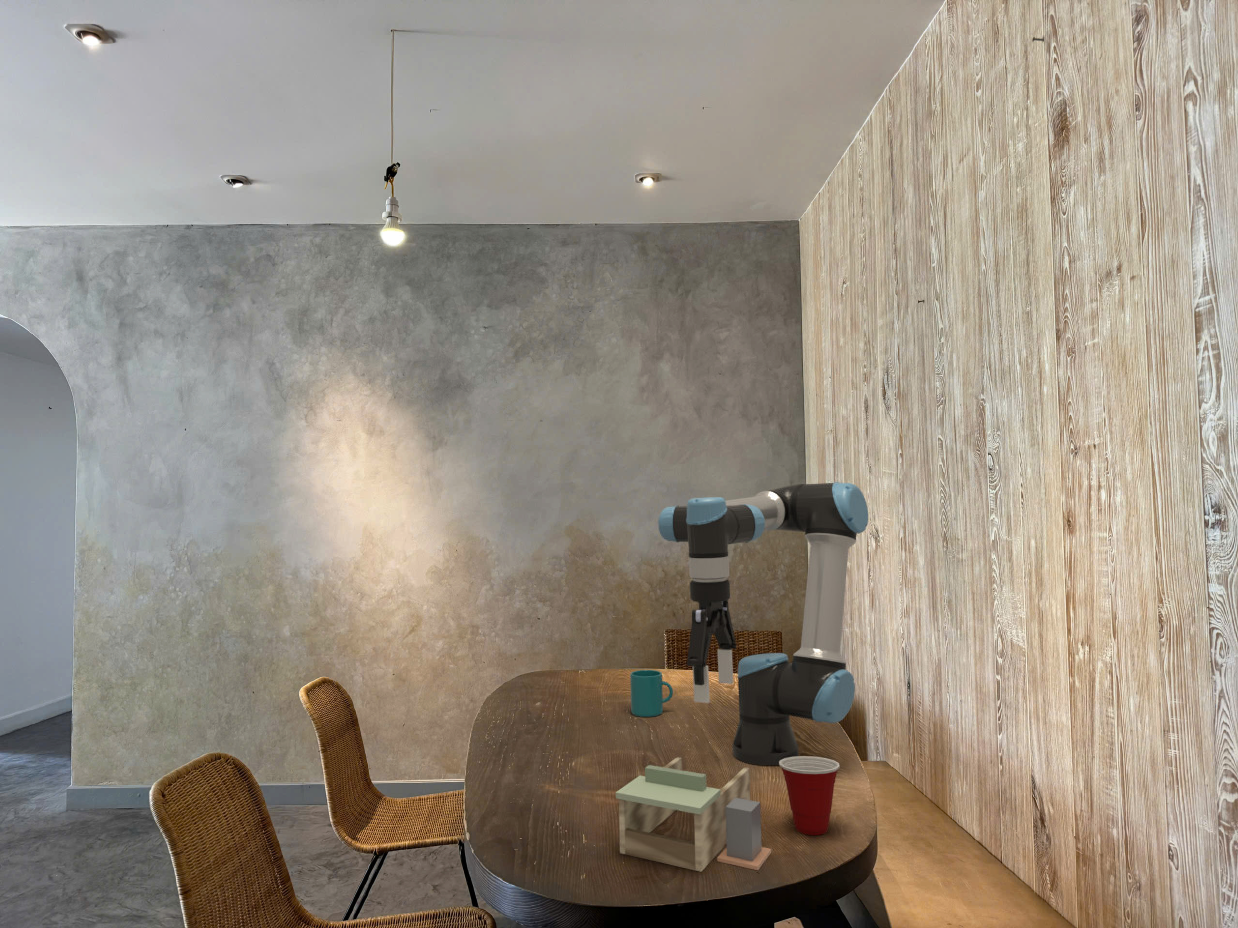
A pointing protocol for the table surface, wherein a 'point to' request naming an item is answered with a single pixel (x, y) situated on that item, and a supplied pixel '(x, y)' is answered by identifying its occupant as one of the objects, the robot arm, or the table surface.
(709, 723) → the table surface
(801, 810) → the plastic cup
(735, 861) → the terracotta coaster
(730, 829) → the slate block
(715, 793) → the cover
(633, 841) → the wooden box
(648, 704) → the cup
